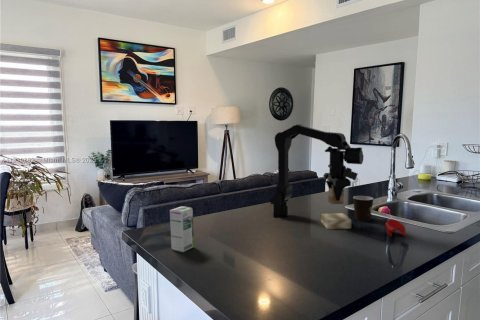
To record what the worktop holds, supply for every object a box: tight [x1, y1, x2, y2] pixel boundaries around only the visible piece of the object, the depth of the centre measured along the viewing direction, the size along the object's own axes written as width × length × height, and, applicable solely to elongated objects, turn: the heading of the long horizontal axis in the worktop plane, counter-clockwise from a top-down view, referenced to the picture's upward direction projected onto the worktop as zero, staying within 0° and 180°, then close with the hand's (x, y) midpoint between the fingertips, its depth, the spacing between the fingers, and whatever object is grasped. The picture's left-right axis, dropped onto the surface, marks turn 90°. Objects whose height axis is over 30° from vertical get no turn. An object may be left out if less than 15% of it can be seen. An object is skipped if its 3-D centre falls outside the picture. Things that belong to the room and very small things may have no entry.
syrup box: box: [169, 205, 195, 253], centre depth 115 cm, size 6×6×14 cm
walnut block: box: [327, 188, 345, 205], centre depth 139 cm, size 5×5×6 cm
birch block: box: [320, 213, 352, 230], centre depth 140 cm, size 10×10×4 cm
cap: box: [384, 219, 407, 238], centre depth 127 cm, size 8×6×6 cm
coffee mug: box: [352, 195, 375, 223], centre depth 148 cm, size 12×9×10 cm
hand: (335, 199), depth 139 cm, fingers closed on walnut block, 5 cm apart
